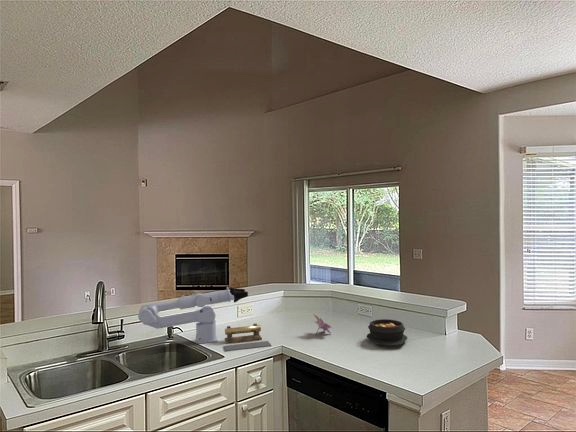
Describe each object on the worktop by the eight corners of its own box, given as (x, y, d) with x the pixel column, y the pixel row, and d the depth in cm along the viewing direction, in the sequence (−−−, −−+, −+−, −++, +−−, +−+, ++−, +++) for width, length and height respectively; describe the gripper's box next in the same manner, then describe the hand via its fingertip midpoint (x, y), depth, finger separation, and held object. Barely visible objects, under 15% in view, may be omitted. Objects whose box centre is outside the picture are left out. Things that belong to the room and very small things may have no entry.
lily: (331, 340, 202) (337, 321, 206) (308, 331, 202) (315, 312, 205) (326, 341, 214) (332, 323, 217) (304, 332, 214) (311, 314, 217)
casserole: (412, 349, 183) (411, 330, 183) (368, 349, 185) (368, 330, 185) (402, 333, 208) (402, 316, 208) (364, 333, 210) (364, 316, 210)
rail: (225, 335, 199) (225, 329, 199) (225, 334, 202) (224, 327, 202) (261, 332, 204) (260, 325, 204) (259, 330, 207) (259, 324, 207)
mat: (225, 351, 187) (225, 350, 187) (223, 346, 193) (223, 345, 193) (271, 346, 193) (271, 345, 193) (267, 341, 199) (267, 340, 199)
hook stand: (226, 343, 198) (226, 329, 197) (224, 340, 204) (224, 326, 204) (261, 339, 202) (261, 326, 202) (259, 336, 208) (258, 323, 208)
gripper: (219, 291, 198) (248, 286, 202) (216, 286, 212) (242, 282, 216) (221, 306, 198) (249, 301, 202) (217, 300, 212) (244, 296, 216)
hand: (246, 292), depth 209 cm, fingers open, 7 cm apart
